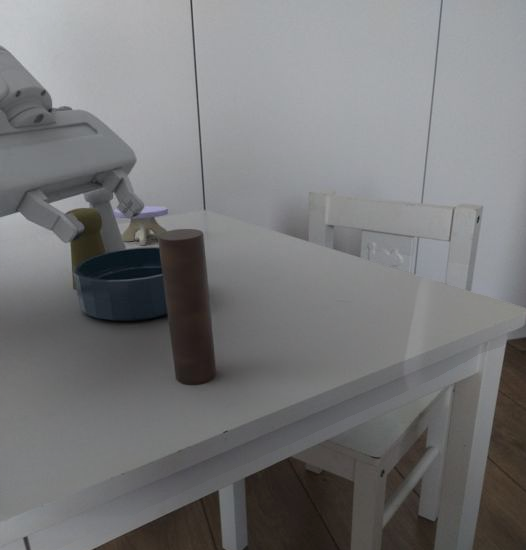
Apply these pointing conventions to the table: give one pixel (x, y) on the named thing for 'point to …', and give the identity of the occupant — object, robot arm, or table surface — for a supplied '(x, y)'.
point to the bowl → (122, 285)
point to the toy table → (143, 223)
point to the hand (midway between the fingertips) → (109, 223)
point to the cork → (86, 237)
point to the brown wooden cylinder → (188, 304)
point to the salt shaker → (106, 218)
